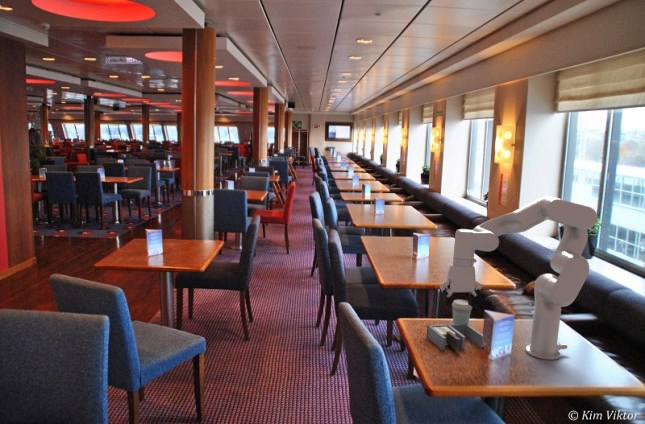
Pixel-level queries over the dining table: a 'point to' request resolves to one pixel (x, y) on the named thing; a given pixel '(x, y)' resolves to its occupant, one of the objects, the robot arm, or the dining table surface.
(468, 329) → the lane rack
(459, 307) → the coffee cup
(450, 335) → the cream block
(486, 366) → the dining table surface
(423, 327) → the dining table surface
